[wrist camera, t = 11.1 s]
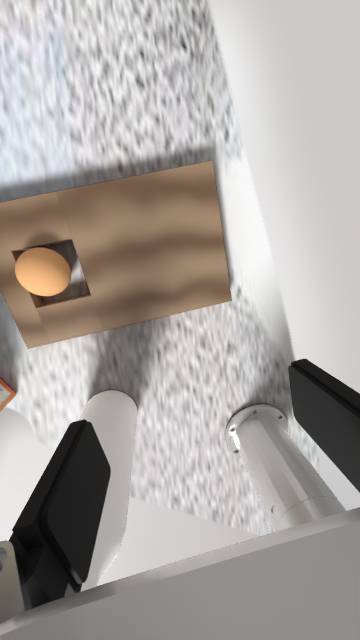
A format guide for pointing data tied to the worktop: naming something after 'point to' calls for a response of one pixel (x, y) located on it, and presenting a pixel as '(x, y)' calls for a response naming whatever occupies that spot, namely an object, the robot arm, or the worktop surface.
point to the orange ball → (43, 271)
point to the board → (119, 251)
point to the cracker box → (5, 394)
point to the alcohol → (112, 473)
